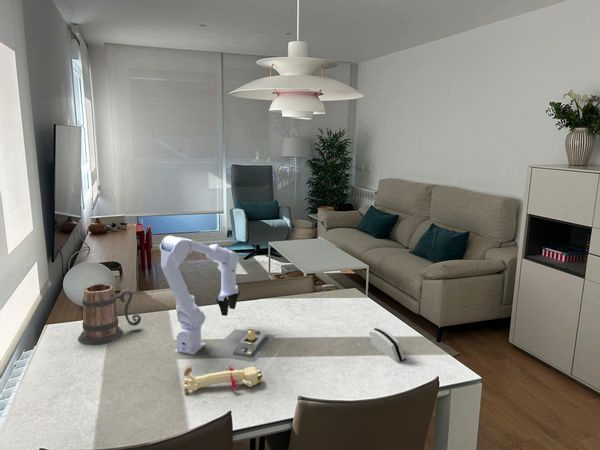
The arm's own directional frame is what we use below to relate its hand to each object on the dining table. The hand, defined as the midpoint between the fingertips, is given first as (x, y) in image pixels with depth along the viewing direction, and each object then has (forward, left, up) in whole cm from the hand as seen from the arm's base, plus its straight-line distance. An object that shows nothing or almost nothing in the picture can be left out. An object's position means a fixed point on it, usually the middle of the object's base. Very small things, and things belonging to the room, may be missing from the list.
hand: (228, 311), depth 182 cm
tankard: (-16, +44, -10) cm, 48 cm away
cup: (+8, +24, -10) cm, 27 cm away
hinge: (+4, -63, -10) cm, 64 cm away
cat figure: (-37, -15, -10) cm, 41 cm away
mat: (-8, -10, -9) cm, 16 cm away
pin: (-8, -13, -9) cm, 18 cm away
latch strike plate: (-8, -13, -9) cm, 18 cm away
